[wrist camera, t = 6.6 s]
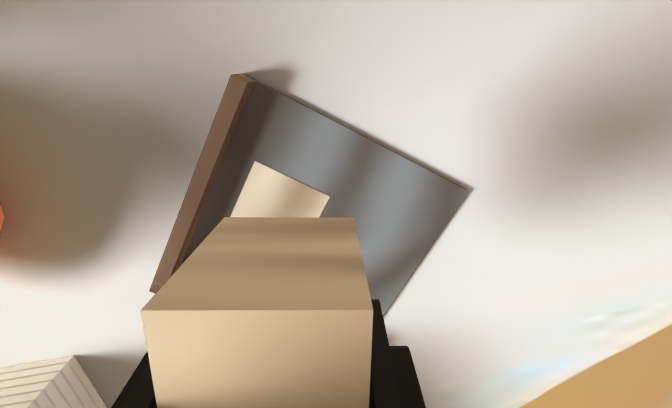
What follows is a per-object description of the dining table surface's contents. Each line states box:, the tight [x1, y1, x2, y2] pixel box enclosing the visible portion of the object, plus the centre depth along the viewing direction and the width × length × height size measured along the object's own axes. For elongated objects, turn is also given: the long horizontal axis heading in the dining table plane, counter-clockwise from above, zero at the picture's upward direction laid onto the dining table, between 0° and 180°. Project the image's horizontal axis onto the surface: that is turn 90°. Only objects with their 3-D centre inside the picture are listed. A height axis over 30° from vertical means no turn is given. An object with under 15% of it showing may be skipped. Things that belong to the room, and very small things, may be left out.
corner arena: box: [149, 73, 468, 315], centre depth 26 cm, size 18×17×3 cm
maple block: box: [141, 217, 373, 408], centre depth 10 cm, size 8×4×5 cm, turn 0°
